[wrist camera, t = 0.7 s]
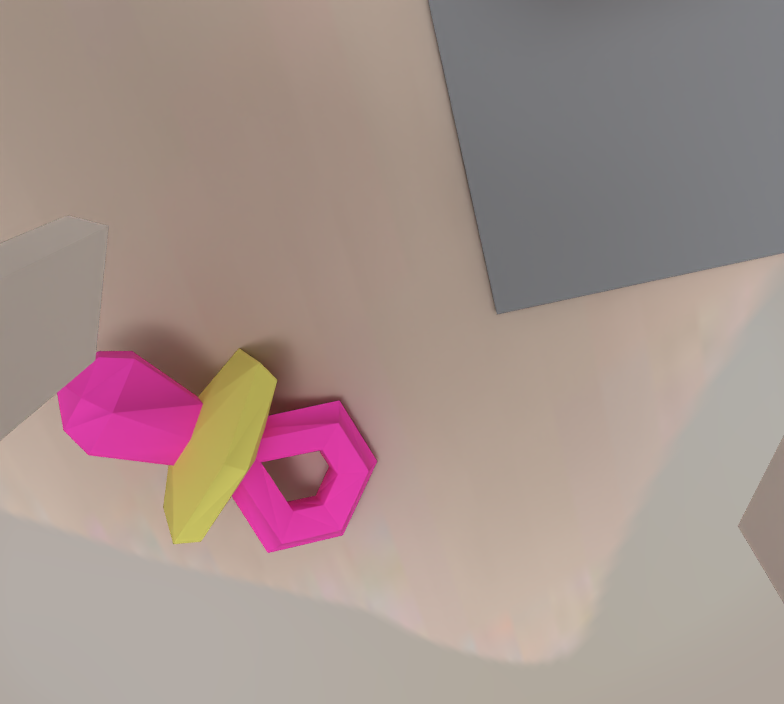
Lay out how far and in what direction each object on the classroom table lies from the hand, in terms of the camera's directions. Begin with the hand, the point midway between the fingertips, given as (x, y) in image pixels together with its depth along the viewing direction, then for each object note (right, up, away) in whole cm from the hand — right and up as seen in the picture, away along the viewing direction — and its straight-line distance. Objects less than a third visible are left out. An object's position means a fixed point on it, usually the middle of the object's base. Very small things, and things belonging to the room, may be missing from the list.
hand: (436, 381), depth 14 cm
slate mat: (+11, +15, +22) cm, 29 cm away
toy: (-10, -3, +31) cm, 33 cm away
